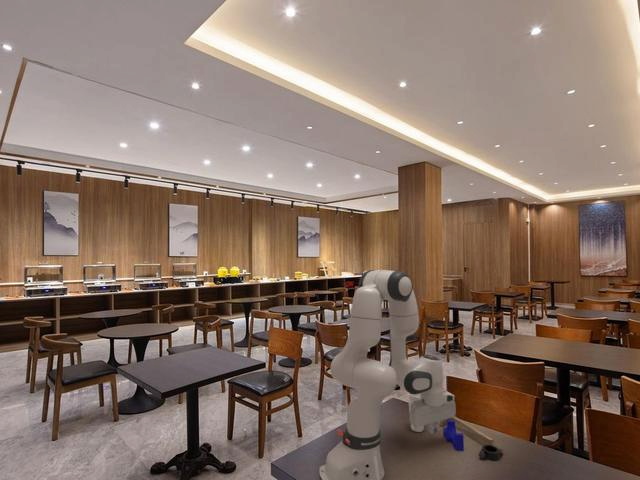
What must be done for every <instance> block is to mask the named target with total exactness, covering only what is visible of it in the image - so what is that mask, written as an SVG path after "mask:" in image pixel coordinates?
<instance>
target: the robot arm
mask: <svg viewBox="0 0 640 480" xmlns="http://www.w3.org/2000/svg"><path fill="white" fill-rule="evenodd" d="M413 287H414V286H413V281H412V279H411V276H409V274H408V273H407V272H403V271H400V270H388V269H375V270H374V269H371V270H367V271H365V272H364V273H362V274H361V276H360V279H359V281H358V288H357V289H356V290H355V292H354V295H353V298H352V303H351V310H350V319H349V321H350V322H349V329H348V330H349V331H348V337H347V340H346V343H345V345H344V347H343V349H342V350H341V351H340V352H339V353H338V354H336V355H335V356H334V357H333V359H332V361H331V364H330V369H329V371H330V376H331V377H332V378H333V380H335V381H336V382H338V383H340V384H341V385H343V386H346V387H349V388H350V389H351V388H352V389H355V390H357V392H358V395H357V396H358V397H357V398H356V399H353V400H351V401H350V402H349V404H348V405H347V408H346V427H345V431H343V430H342V429H337V431H336V434H337V436H338V437H339V438H342V440H340V442H339V443H337V445H336V446H334V447H333V448H332V449H331V450H330V451H329V452H328V454H327V456H326V459H325V464H323V465H320V467H319V469H318V476H319V475H320V476H319V478H320V477H321V479H322V480H383V478H384V476H385V470H384V465H383V462H382V456H381V455H382V454H381V430H380V408H381V405H382V403H383V401H384V400H385V399H386V398H388V397H389V396H390V395H392V394H393V392H394V391H395V389H396V387H397V386H399V387H400V388H402V389H403V390H404V391H406V392H407V393H408V394H409V393H410V394H419V393H421V400H418V401H414V402H413V403H412V404H411V406H410V411H409V423H410V425H411V424H412V425H413V426H415V427H420V426H423V425H424V426H426V425H427V427H428V432H429V433H430V434H435V433H438V432H439V427H440V421H441V420H445V419H449V418H452V417H454V416H455V417H456V414H457V412H456V411H457V410H456V409H457V408H456V402H455V398H456V397H455V395H454V394H452V393H451V392H449V391H447V390H445V389H444V387H443V383H444V369H443V364H442V360H441V359H440V358H439V357H436V356H434V355H431V354H422V355H421V356H420V358H419V359H418V360H417V361H416V362H414V363H413V364H411V363H410V361H409V360H408V359H407V349H406V348H407V347H406V339H407V337H409V336H412V335H413V334H415V333H416V332H417V331H418V329H419V324H420V315H419V308H418V307H419V306H418V302H417V298H416V295H415V292H414V289H413ZM384 301H387V302H388V313H389V323H390V327H389V328H390V329H389V349H390V351H389V353H390V357H389V358H390V360H389V364H387V363H384V362H382V361H380V360H376V359H373V358H369V357H368V352H369V350H370V349H371V348H372V347H373V348H374V347H375V346H376V345H378V343H379V342H380V340H381V336H382V335H381V334H382V318H383V317H382V316H383V308H382V307H383V306H382V305H383V303H384ZM367 357H368V358H367ZM321 479H320V480H321Z"/></svg>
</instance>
